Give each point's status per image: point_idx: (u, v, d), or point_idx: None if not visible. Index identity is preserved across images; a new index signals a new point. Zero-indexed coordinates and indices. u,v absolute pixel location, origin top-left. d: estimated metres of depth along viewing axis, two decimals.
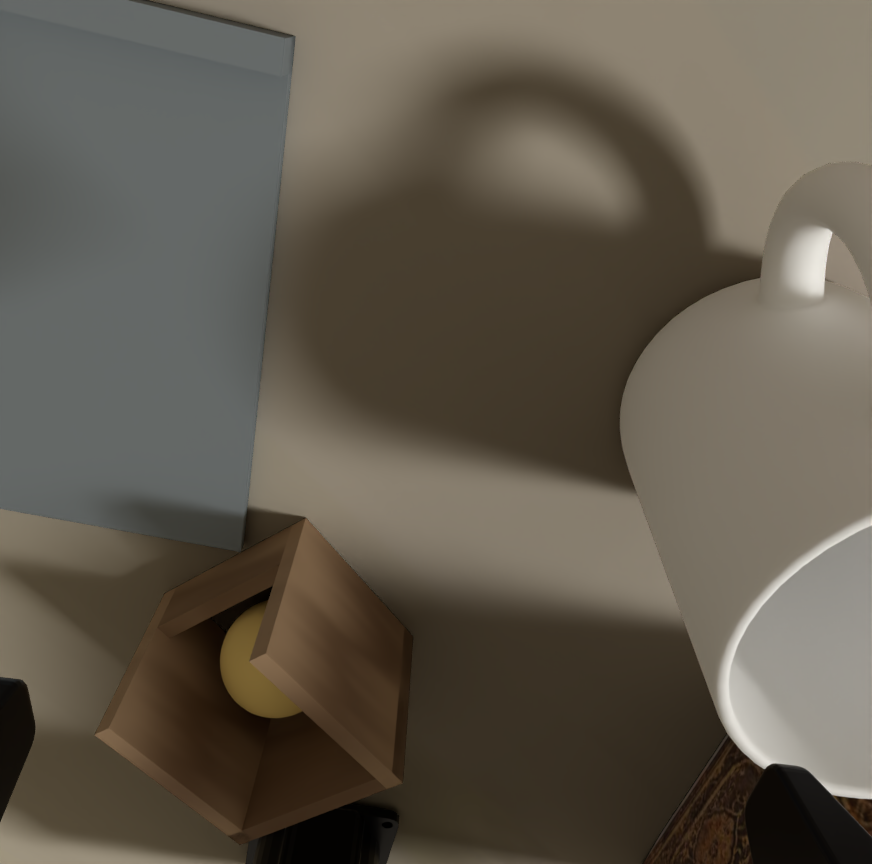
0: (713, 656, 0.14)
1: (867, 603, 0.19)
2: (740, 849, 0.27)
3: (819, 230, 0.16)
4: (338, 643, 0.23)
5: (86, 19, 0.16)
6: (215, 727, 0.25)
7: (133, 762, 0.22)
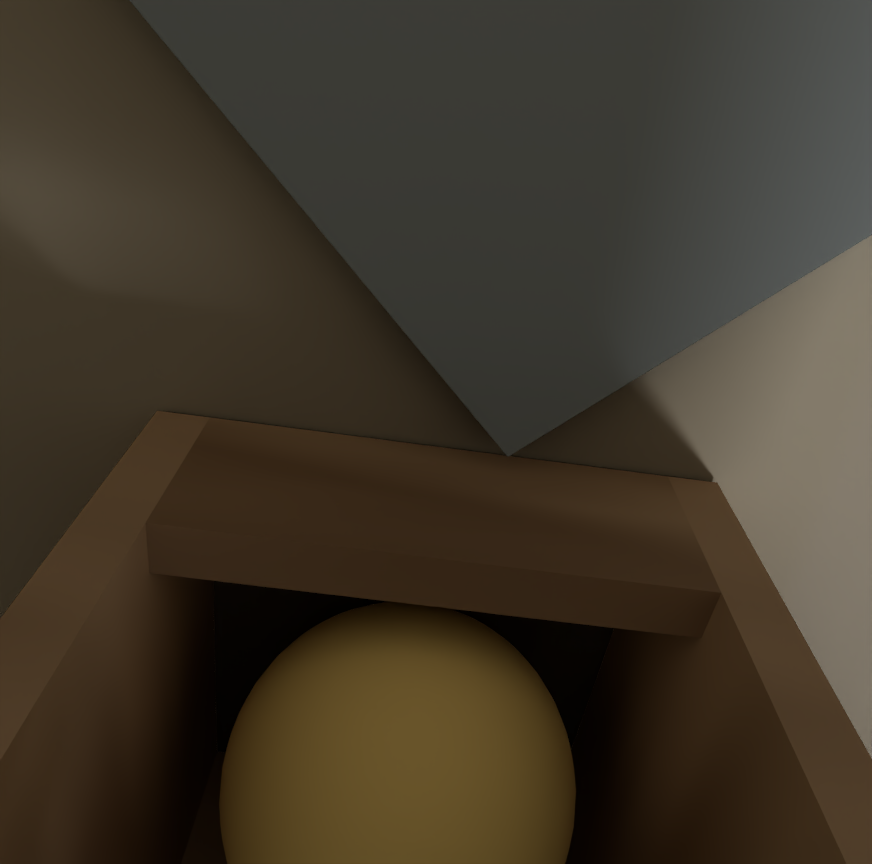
0: None
1: None
2: None
3: None
4: None
5: None
6: None
7: None
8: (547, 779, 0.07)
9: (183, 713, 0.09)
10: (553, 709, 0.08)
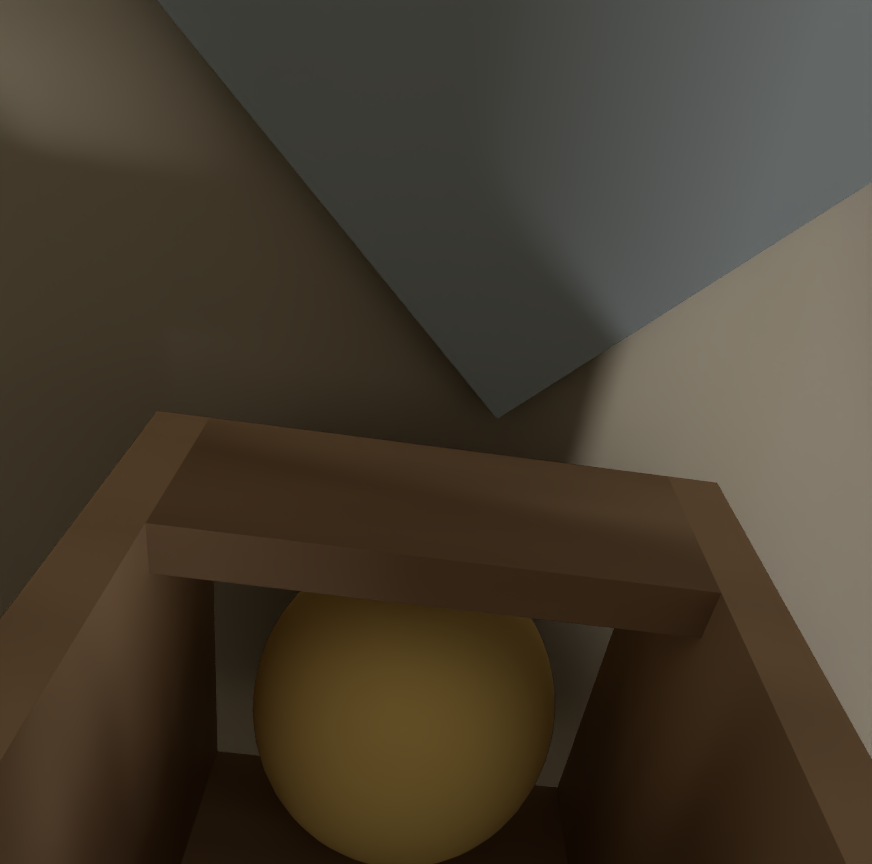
0: None
1: None
2: None
3: None
4: None
5: None
6: None
7: None
8: (529, 684, 0.09)
9: (183, 713, 0.09)
10: (535, 633, 0.09)
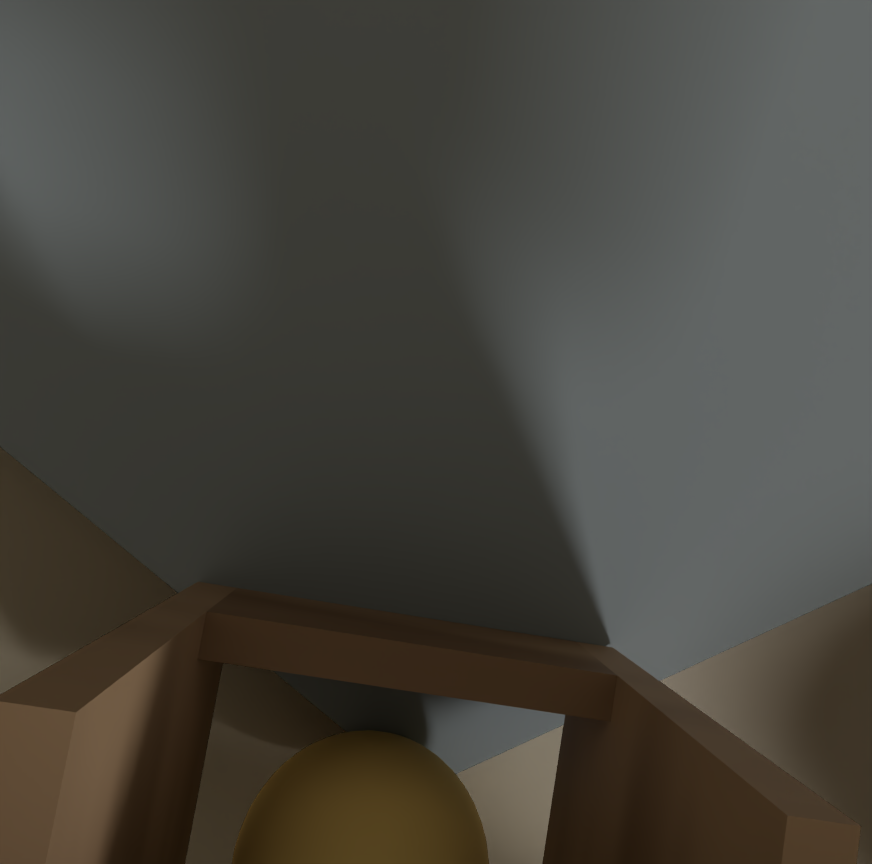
0: None
1: None
2: None
3: None
4: None
5: None
6: None
7: None
8: None
9: (168, 863, 0.10)
10: None
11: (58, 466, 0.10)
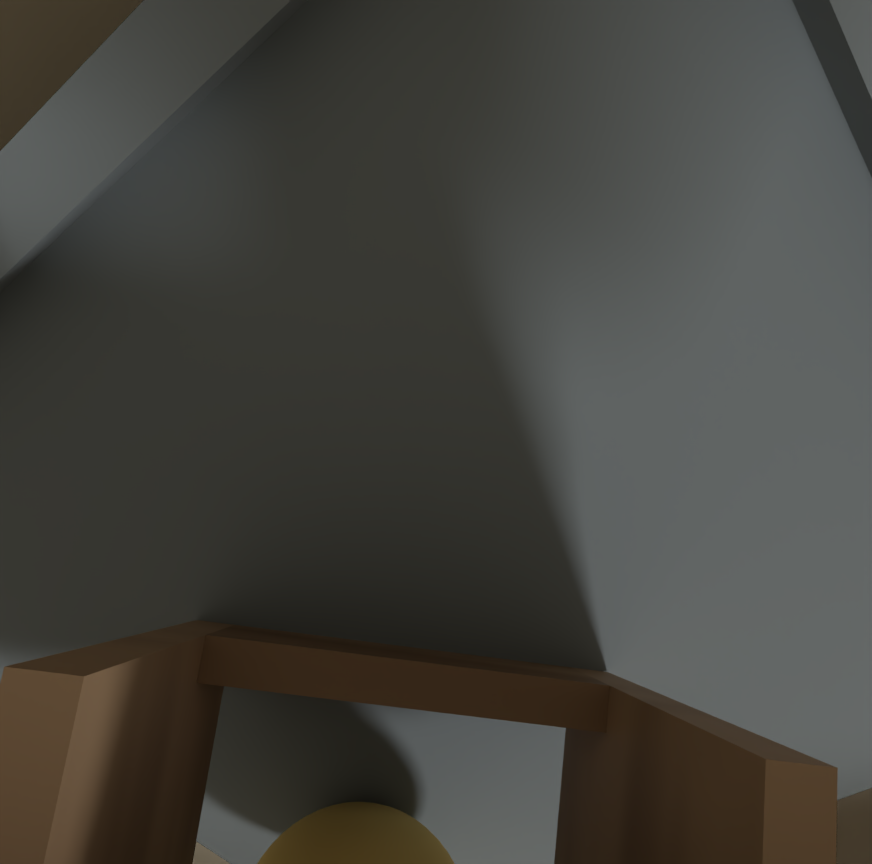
0: None
1: None
2: None
3: None
4: None
5: None
6: None
7: None
8: None
9: None
10: None
11: None
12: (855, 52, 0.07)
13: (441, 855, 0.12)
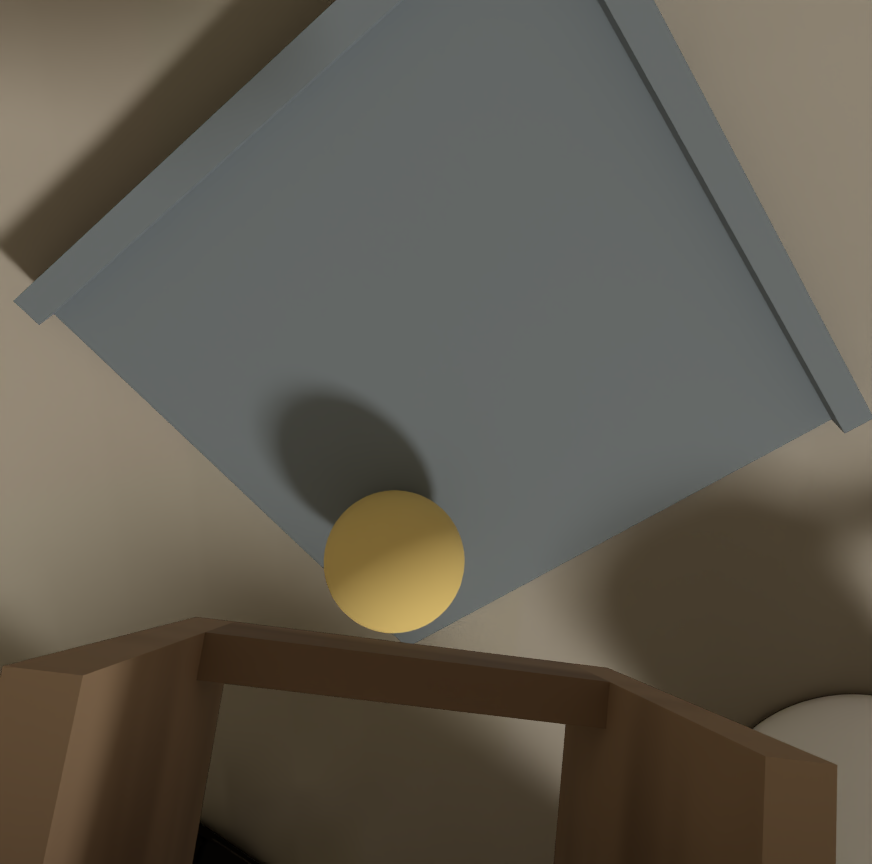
0: None
1: None
2: None
3: None
4: None
5: (784, 303, 0.18)
6: None
7: None
8: (443, 610, 0.20)
9: None
10: (447, 591, 0.20)
11: (237, 471, 0.22)
12: (626, 38, 0.15)
13: (446, 513, 0.21)
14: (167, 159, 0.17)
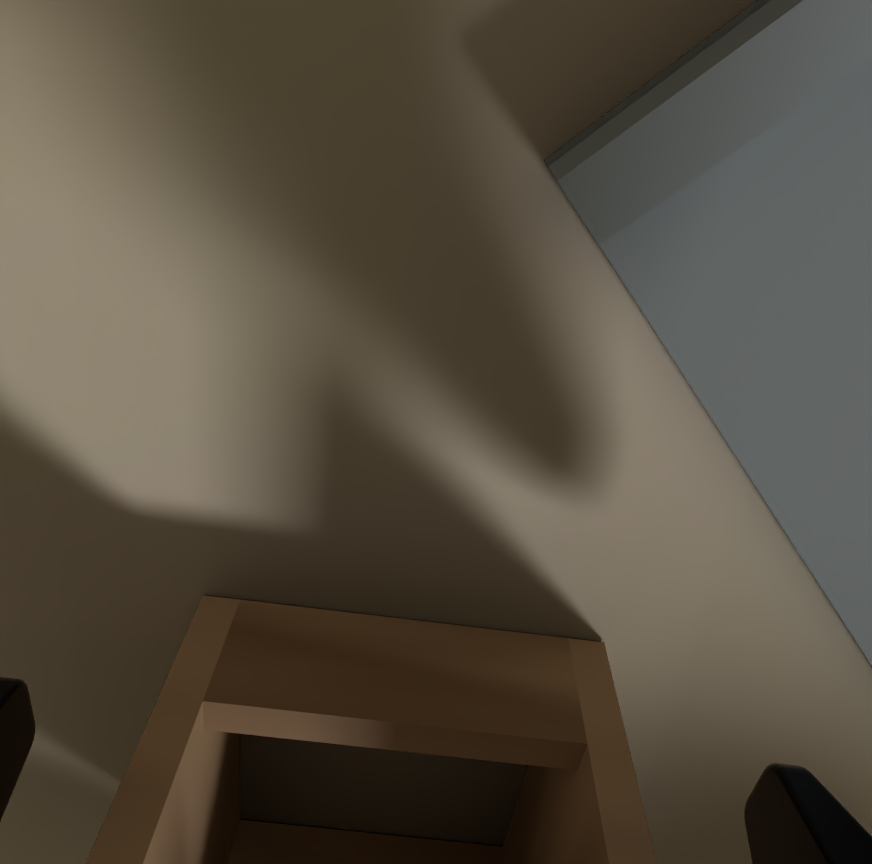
0: None
1: None
2: None
3: None
4: None
5: None
6: None
7: None
8: None
9: (219, 805, 0.12)
10: None
11: (843, 568, 0.11)
12: None
13: None
14: None
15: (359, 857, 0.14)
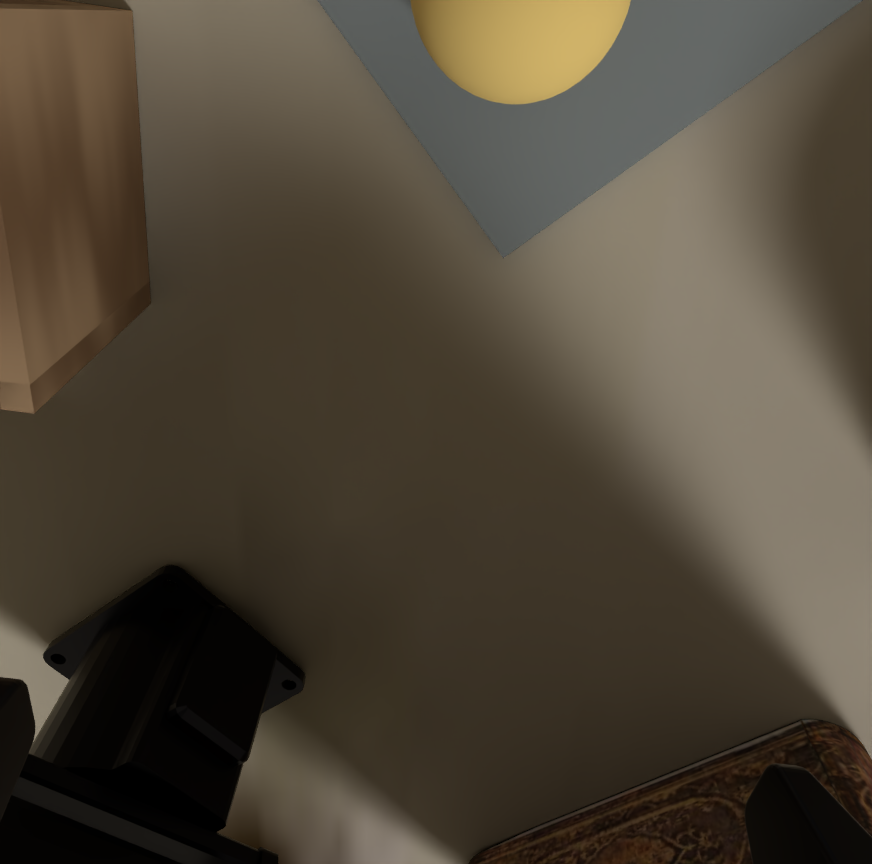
0: None
1: None
2: None
3: None
4: (70, 170, 0.14)
5: None
6: None
7: None
8: (607, 34, 0.12)
9: None
10: None
11: None
12: None
13: None
14: None
15: None
